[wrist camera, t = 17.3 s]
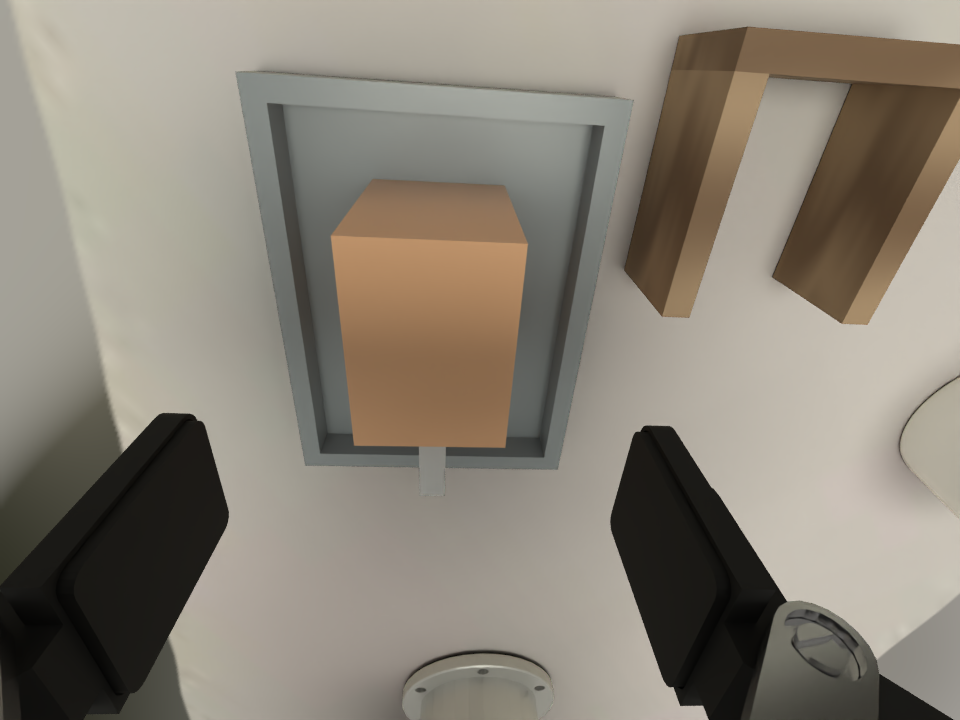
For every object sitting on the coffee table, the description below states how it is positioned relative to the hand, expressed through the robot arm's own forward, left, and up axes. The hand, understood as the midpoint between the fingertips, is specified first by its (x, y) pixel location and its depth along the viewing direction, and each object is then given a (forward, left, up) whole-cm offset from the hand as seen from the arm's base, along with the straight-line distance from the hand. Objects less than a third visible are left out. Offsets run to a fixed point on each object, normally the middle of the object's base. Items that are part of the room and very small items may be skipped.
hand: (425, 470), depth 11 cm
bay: (+5, -12, -12) cm, 17 cm away
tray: (-1, 0, -12) cm, 12 cm away
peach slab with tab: (-2, 0, -11) cm, 11 cm away
